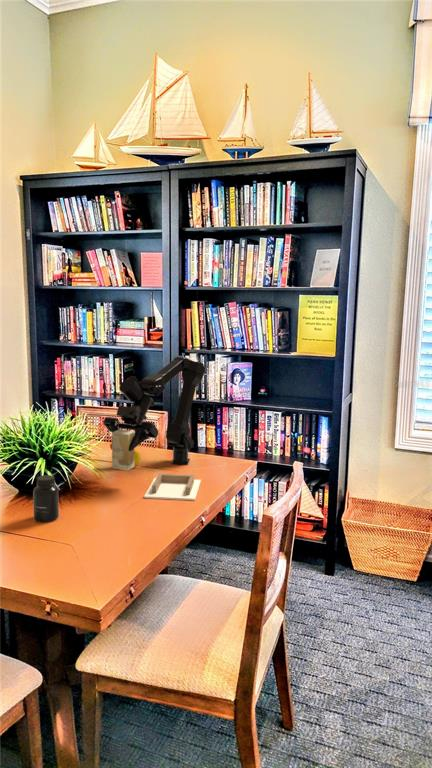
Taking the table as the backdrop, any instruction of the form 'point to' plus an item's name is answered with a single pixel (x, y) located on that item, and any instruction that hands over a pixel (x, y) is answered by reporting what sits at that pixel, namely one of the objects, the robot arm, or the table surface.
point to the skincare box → (122, 450)
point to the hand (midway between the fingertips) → (120, 449)
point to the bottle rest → (173, 487)
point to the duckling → (136, 456)
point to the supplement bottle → (46, 499)
